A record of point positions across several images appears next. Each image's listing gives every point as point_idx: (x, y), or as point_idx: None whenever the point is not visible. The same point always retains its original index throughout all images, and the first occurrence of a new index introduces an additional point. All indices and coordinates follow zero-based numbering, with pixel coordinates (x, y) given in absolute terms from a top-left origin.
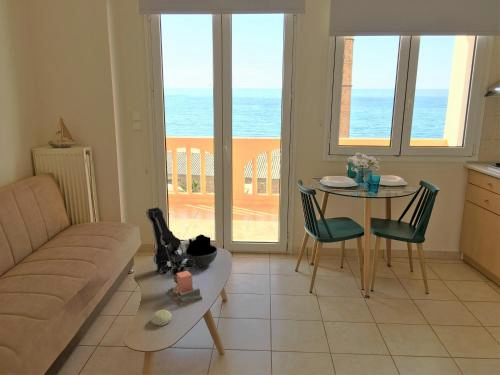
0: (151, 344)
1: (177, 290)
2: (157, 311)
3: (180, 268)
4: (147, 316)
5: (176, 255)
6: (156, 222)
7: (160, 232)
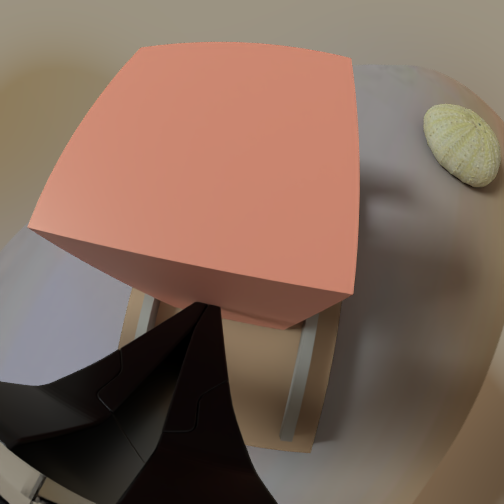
0: (478, 101)
1: (257, 377)
2: (491, 146)
3: (59, 451)
4: (499, 234)
5: None
6: None
7: None
